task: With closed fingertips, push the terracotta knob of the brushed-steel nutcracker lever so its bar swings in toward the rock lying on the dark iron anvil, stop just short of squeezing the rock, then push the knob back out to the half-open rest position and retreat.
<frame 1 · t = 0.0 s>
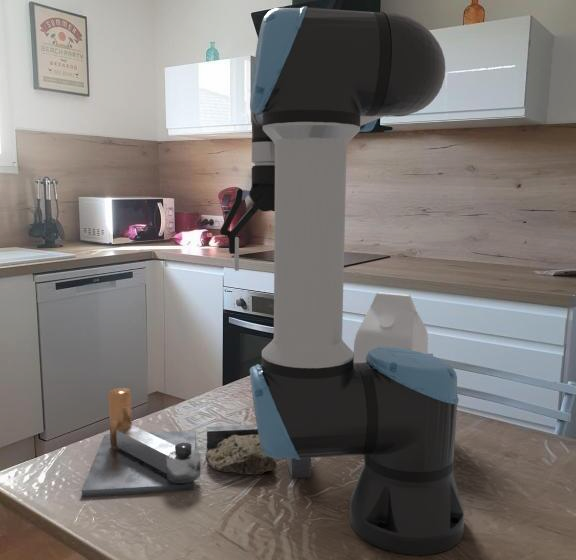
hand: (269, 269, 122), 28 cm above the table, fingers open, 13 cm apart
lever: (151, 431, 94), point 6 cm above the table, hinge at 40.0°
cracker base: (183, 484, 89), on the table
rock: (240, 466, 96), on the table
milk: (388, 432, 110), on the table
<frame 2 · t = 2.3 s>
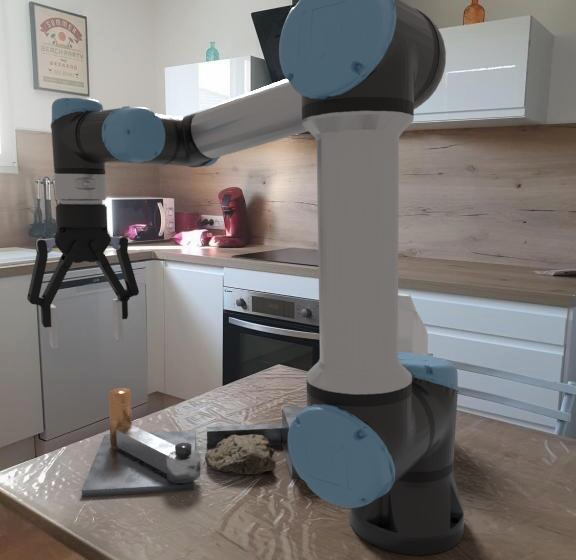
hand: (87, 342, 95), 20 cm above the table, fingers open, 9 cm apart
nothing on the table moved.
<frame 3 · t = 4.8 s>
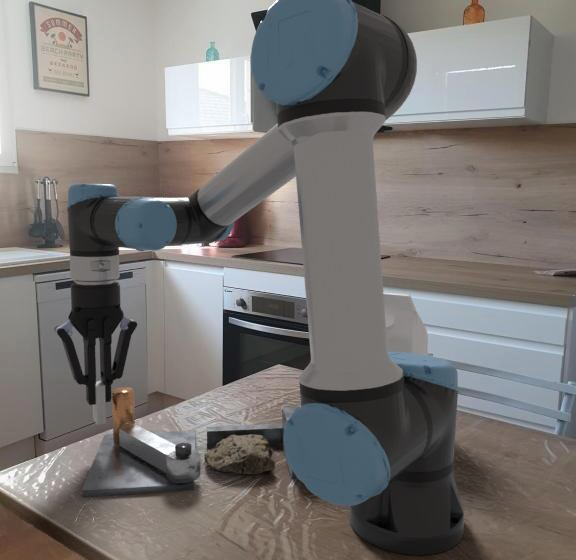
hand: (99, 421, 98), 6 cm above the table, fingers closed
lever: (152, 431, 94), point 6 cm above the table, hinge at 38.0°, touching gripper
everything else where it was.
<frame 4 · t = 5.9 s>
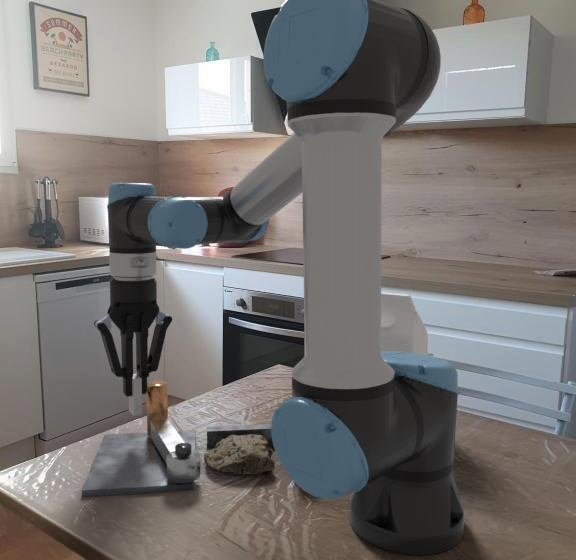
hand: (135, 412, 101), 6 cm above the table, fingers closed
lever: (169, 427, 96), point 6 cm above the table, hinge at 17.4°, touching gripper
everything else where it was.
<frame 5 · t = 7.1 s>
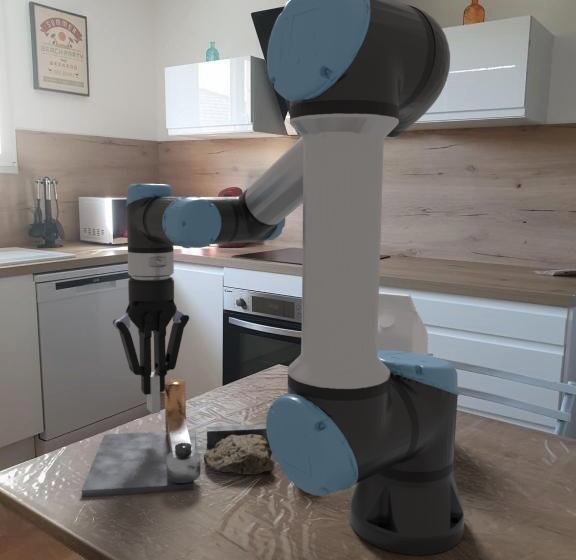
hand: (153, 410, 103), 6 cm above the table, fingers closed
lever: (179, 426, 96), point 6 cm above the table, hinge at 6.7°, touching gripper
everything else where it was.
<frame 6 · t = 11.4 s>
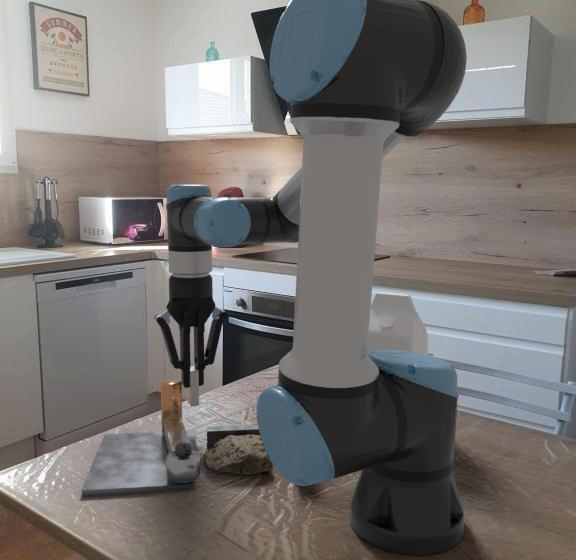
hand: (193, 403, 106), 6 cm above the table, fingers closed
lever: (177, 426, 96), point 6 cm above the table, hinge at 8.9°, touching gripper
everything else where it was.
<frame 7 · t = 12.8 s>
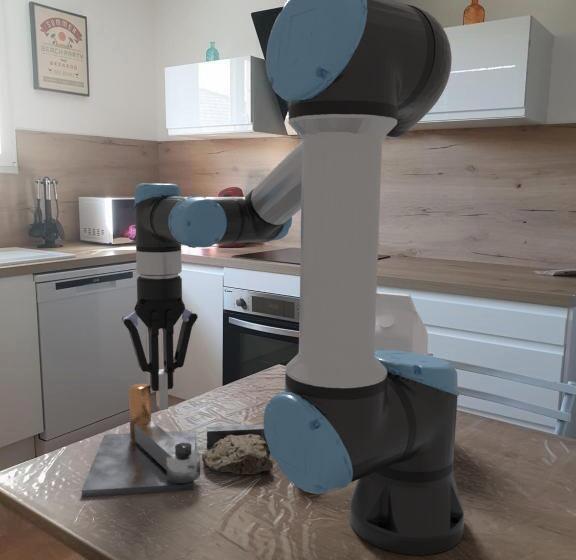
hand: (162, 406, 104), 6 cm above the table, fingers closed
lever: (161, 428, 95), point 6 cm above the table, hinge at 27.6°, touching gripper
everything else where it was.
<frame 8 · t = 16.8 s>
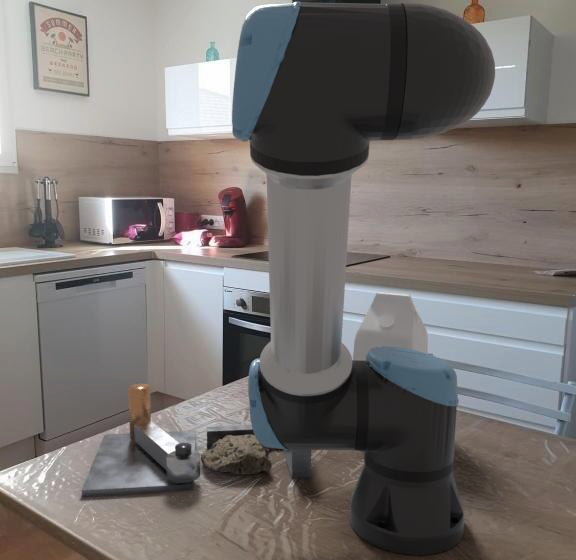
hand: (309, 290, 106), 26 cm above the table, fingers closed
lever: (161, 428, 95), point 6 cm above the table, hinge at 27.8°
everything else where it was.
at the end: lever at +28° (first picture: +40°); rock moved 0.9 cm from its start; lever touching nothing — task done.
